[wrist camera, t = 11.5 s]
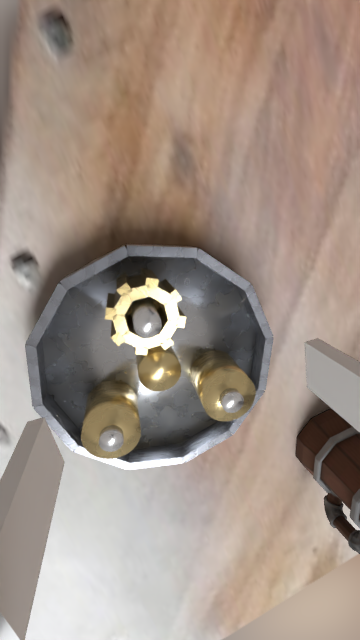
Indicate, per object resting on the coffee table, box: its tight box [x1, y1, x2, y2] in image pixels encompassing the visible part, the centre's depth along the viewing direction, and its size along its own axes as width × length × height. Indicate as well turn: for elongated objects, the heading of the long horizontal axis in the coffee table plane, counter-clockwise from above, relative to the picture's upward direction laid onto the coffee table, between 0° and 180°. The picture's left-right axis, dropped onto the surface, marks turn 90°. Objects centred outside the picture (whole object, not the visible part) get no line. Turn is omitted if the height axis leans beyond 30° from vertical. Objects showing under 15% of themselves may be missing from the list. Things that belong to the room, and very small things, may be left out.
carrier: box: [25, 244, 273, 470], centre depth 32 cm, size 27×27×10 cm
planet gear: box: [105, 268, 186, 355], centre depth 30 cm, size 7×7×6 cm
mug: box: [296, 409, 360, 554], centre depth 41 cm, size 16×12×15 cm
